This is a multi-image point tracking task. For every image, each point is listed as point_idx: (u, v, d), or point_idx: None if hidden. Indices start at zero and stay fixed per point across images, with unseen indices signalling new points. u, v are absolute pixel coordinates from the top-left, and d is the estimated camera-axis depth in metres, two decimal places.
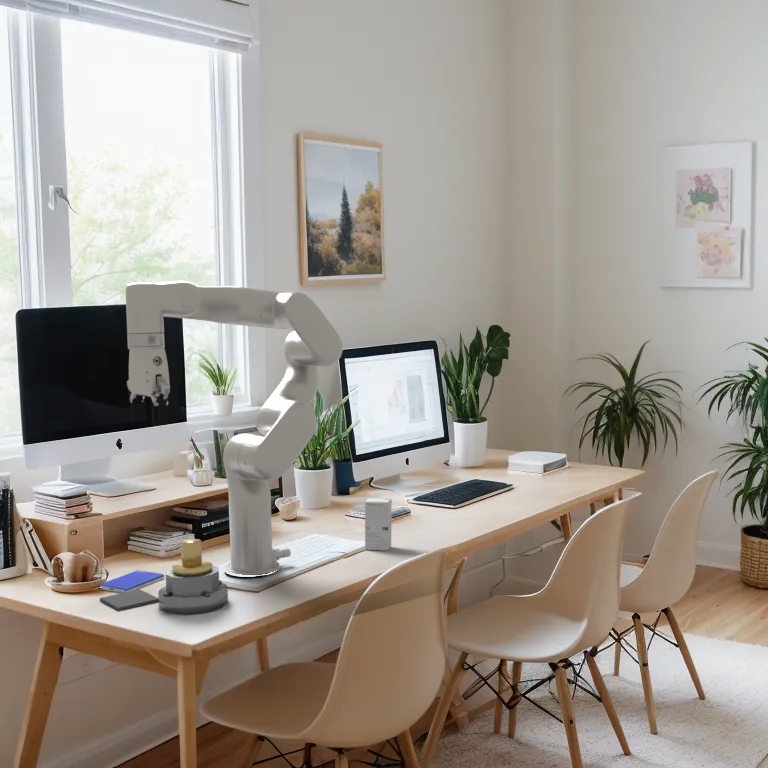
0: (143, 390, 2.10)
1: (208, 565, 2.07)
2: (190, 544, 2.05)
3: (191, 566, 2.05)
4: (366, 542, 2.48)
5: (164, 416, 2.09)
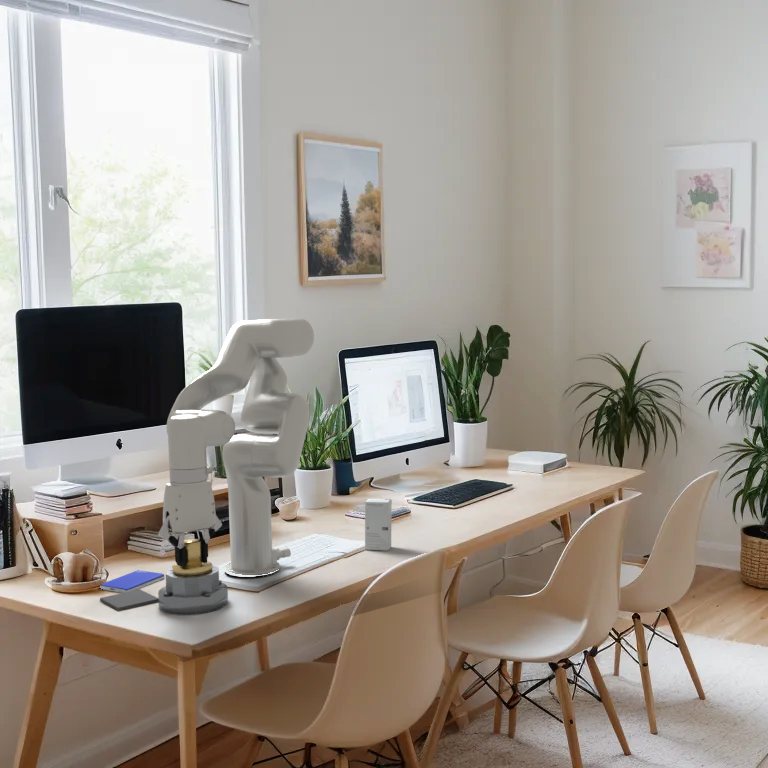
0: (205, 524, 2.07)
1: (208, 565, 2.07)
2: (190, 544, 2.05)
3: (191, 566, 2.05)
4: (366, 542, 2.48)
5: None
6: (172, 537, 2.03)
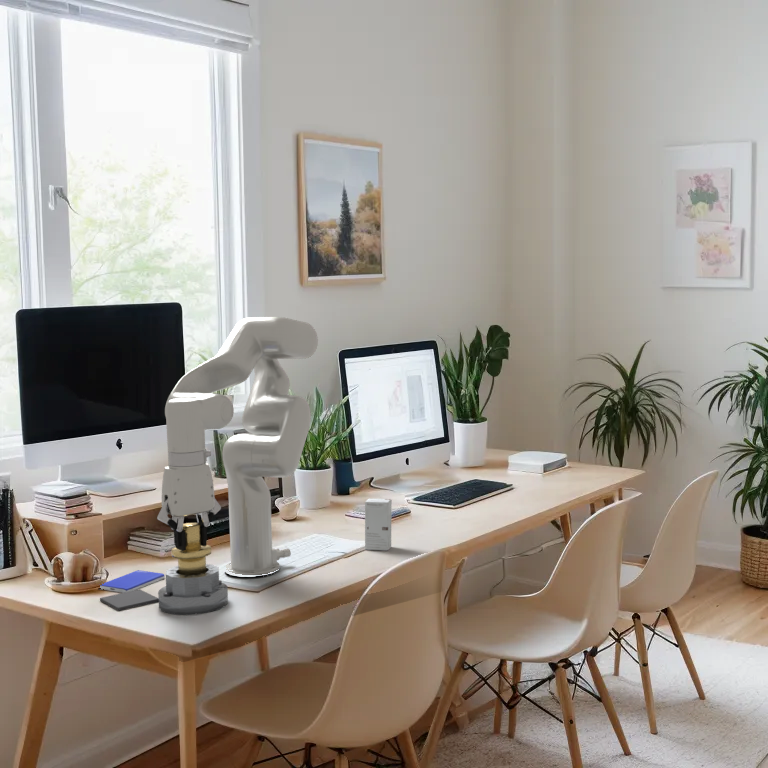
0: (204, 507, 2.06)
1: (207, 549, 2.07)
2: (189, 528, 2.05)
3: (190, 550, 2.05)
4: (366, 542, 2.48)
5: None
6: (171, 520, 2.03)
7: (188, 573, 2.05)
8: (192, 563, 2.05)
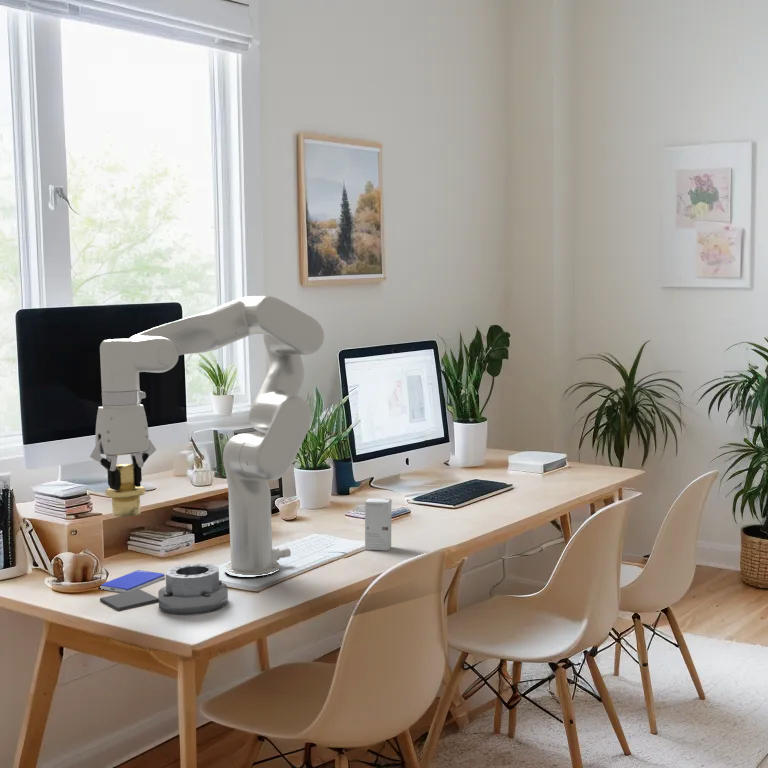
0: (138, 447, 2.08)
1: (141, 489, 2.09)
2: (123, 467, 2.07)
3: (124, 489, 2.07)
4: (366, 542, 2.48)
5: None
6: (104, 459, 2.05)
7: (121, 512, 2.07)
8: (125, 502, 2.06)
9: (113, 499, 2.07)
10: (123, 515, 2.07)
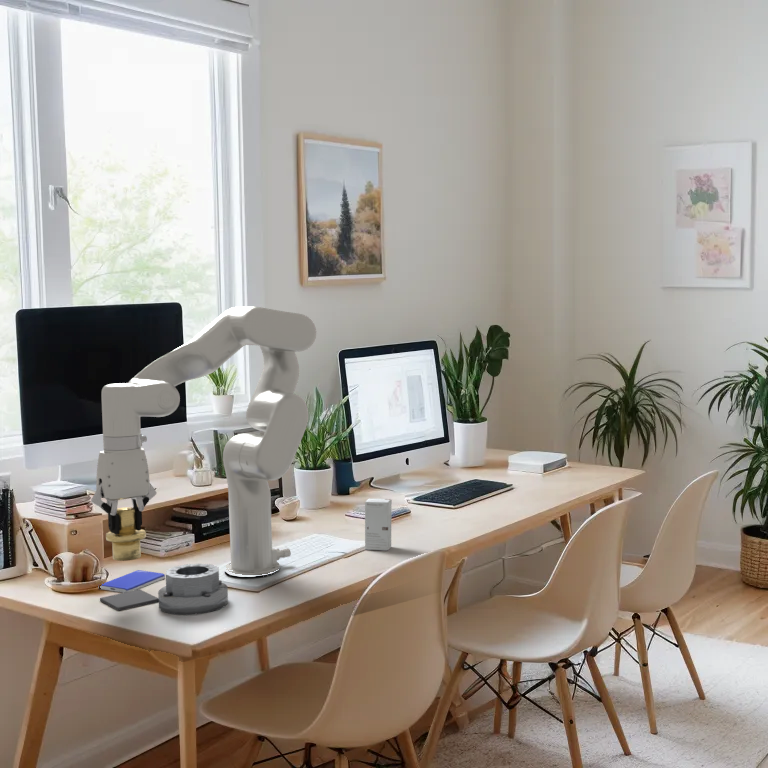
0: (139, 491, 2.09)
1: (141, 533, 2.09)
2: (123, 511, 2.07)
3: (124, 533, 2.08)
4: (366, 542, 2.48)
5: None
6: (105, 504, 2.06)
7: (121, 556, 2.07)
8: (125, 546, 2.07)
9: (113, 543, 2.08)
10: (123, 559, 2.07)
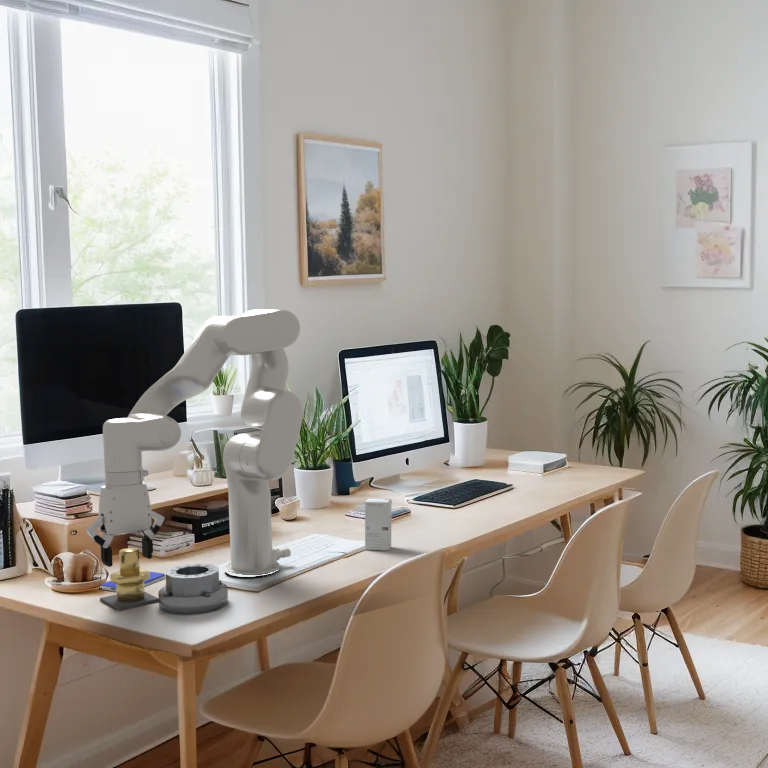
0: (141, 526, 2.10)
1: (146, 574, 2.10)
2: (127, 553, 2.08)
3: (128, 575, 2.09)
4: (366, 542, 2.48)
5: None
6: (97, 537, 2.05)
7: (126, 598, 2.08)
8: (129, 588, 2.08)
9: (118, 584, 2.09)
10: (127, 600, 2.08)
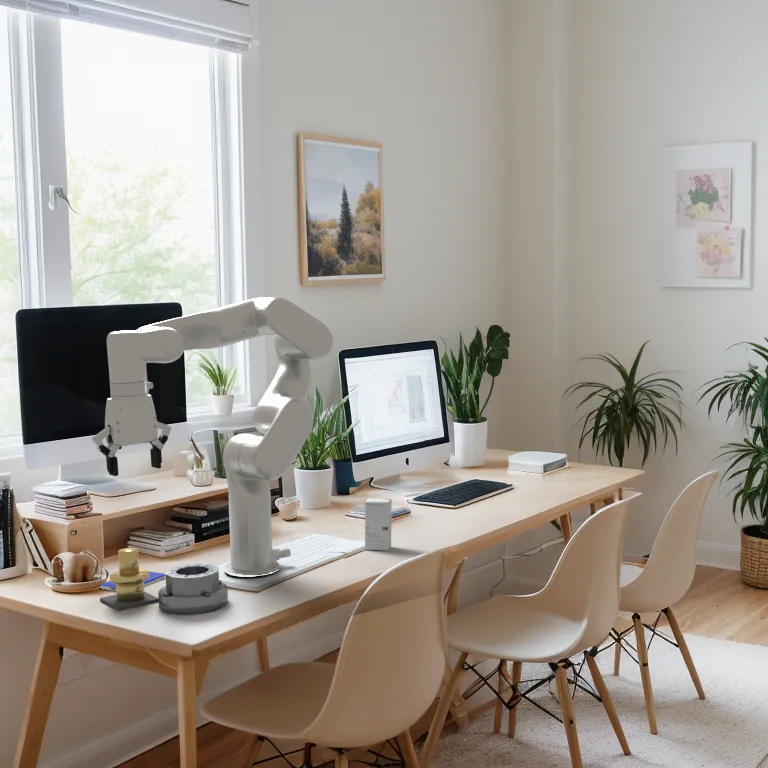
0: (147, 437, 2.11)
1: (145, 573, 2.10)
2: (126, 553, 2.08)
3: (128, 575, 2.09)
4: (366, 542, 2.48)
5: None
6: (102, 446, 2.06)
7: (126, 598, 2.08)
8: (129, 587, 2.08)
9: (117, 584, 2.09)
10: (128, 600, 2.08)
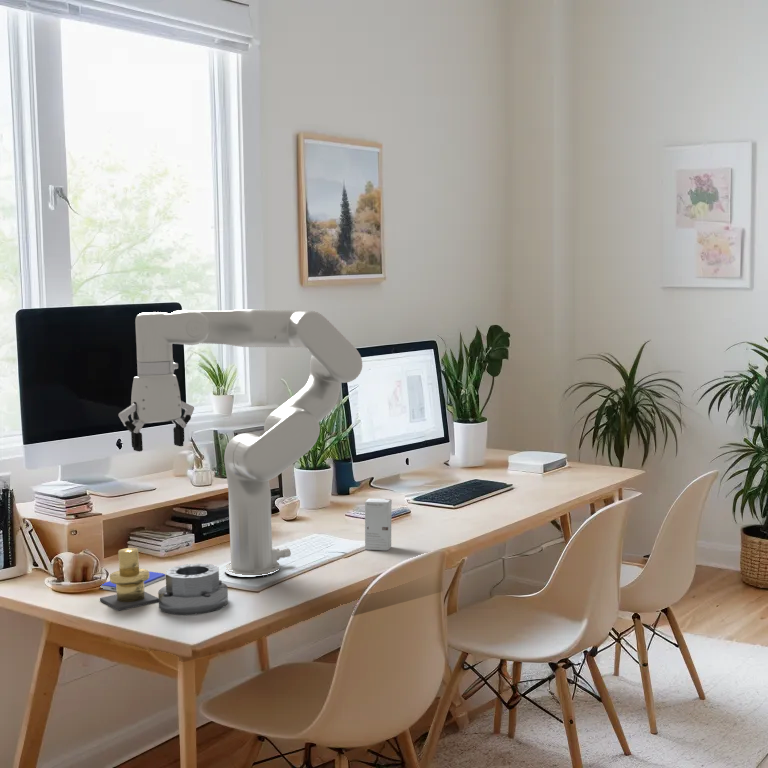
0: (171, 415, 2.19)
1: (145, 573, 2.10)
2: (127, 553, 2.08)
3: (128, 575, 2.09)
4: (366, 542, 2.48)
5: None
6: (128, 422, 2.14)
7: (126, 598, 2.08)
8: (130, 588, 2.08)
9: (118, 585, 2.09)
10: (128, 601, 2.08)
